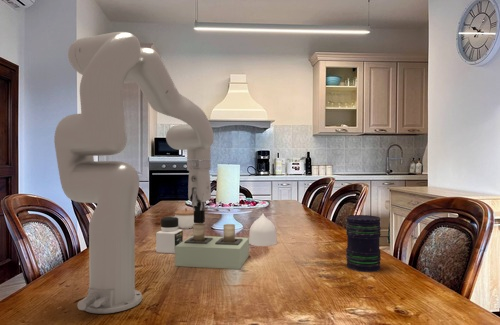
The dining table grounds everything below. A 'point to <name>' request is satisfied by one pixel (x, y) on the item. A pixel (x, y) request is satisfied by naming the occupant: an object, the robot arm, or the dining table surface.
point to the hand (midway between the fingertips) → (199, 222)
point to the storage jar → (363, 243)
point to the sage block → (212, 253)
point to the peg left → (199, 232)
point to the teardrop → (262, 232)
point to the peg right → (229, 233)
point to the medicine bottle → (168, 235)
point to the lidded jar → (185, 218)
